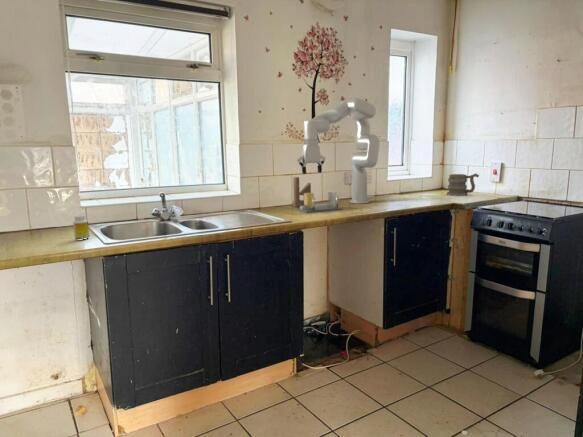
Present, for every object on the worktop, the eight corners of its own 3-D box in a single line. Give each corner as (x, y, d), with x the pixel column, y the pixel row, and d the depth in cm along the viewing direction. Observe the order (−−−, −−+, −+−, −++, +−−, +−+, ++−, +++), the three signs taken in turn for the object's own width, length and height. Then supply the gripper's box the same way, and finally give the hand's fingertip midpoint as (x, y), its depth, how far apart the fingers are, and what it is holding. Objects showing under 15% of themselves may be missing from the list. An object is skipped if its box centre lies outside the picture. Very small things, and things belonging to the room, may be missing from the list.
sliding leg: (310, 207, 253) (310, 192, 252) (317, 209, 245) (317, 194, 243) (304, 207, 251) (303, 193, 250) (311, 209, 243) (310, 194, 242)
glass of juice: (91, 239, 187) (89, 215, 186) (78, 241, 183) (75, 217, 182) (86, 237, 191) (83, 214, 189) (72, 239, 187) (70, 216, 186)
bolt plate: (330, 207, 262) (330, 204, 262) (341, 209, 250) (341, 207, 250) (297, 210, 253) (297, 207, 253) (306, 213, 242) (306, 210, 241)
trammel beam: (332, 205, 259) (331, 191, 257) (339, 207, 250) (339, 193, 249) (299, 208, 250) (299, 194, 249) (306, 210, 242) (305, 195, 241)
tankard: (445, 195, 303) (445, 173, 300) (450, 193, 313) (450, 172, 310) (475, 196, 291) (476, 174, 289) (479, 194, 302) (480, 172, 299)
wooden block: (311, 206, 269) (310, 176, 266) (295, 207, 265) (294, 177, 261) (308, 205, 272) (308, 176, 269) (292, 206, 268) (292, 177, 265)
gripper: (321, 142, 253) (322, 171, 256) (294, 143, 246) (295, 174, 249) (327, 141, 246) (328, 172, 249) (299, 143, 239) (301, 174, 242)
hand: (312, 173), depth 249 cm, fingers open, 9 cm apart
